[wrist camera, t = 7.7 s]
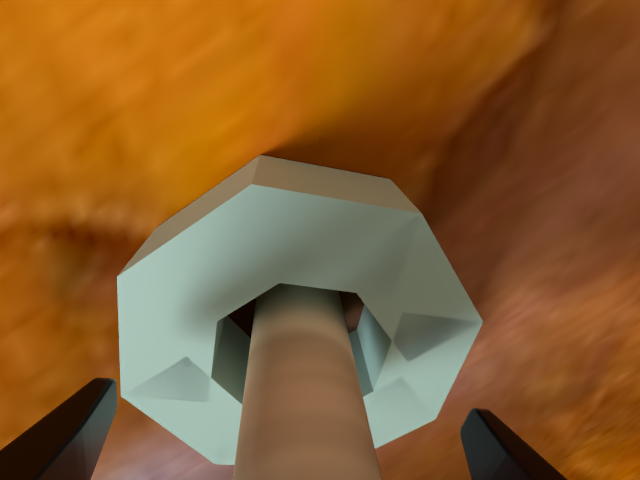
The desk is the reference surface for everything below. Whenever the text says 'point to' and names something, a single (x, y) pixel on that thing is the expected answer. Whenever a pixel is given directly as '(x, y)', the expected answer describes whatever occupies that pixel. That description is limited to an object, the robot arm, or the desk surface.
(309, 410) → the beige cylindrical peg
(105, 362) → the desk surface
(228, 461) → the bead
